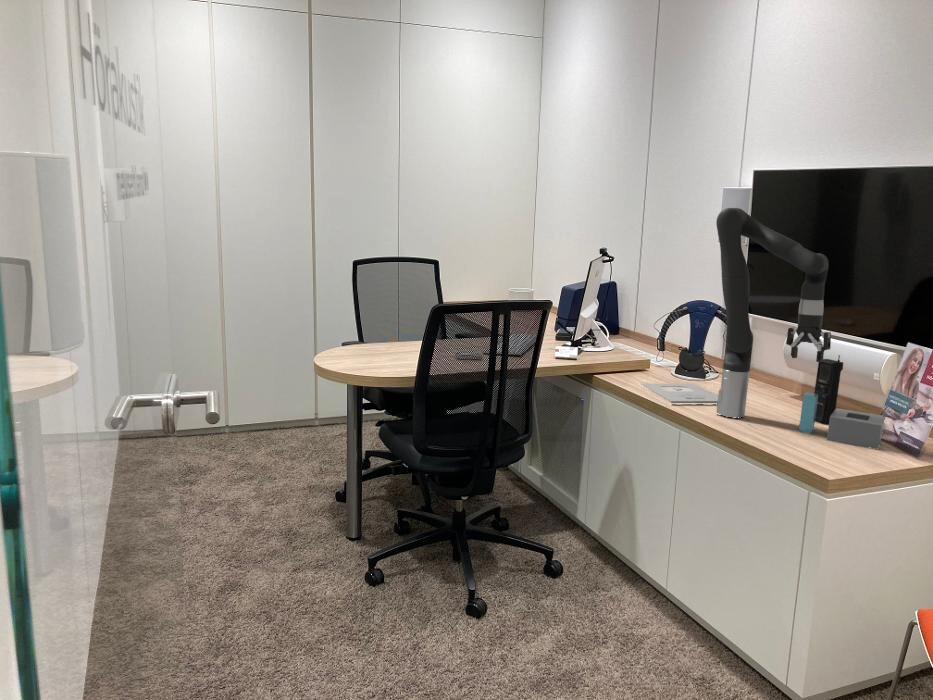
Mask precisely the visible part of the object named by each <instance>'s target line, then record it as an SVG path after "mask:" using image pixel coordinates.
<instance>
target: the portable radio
mask: <svg viewBox="0 0 933 700" xmlns="http://www.w3.org/2000/svg"><path fill="white" fill-rule="evenodd" d="M840 357H841V355H839V354H838V359H837V360H835V359H831V358H823V360H822V361H821V362H817V371H816V379H815V385H814V392H813V393H815V394H819V395H818V402H817V410H816V417H815V422H817V423H819V422H820V424H823V425H829V420H830V416H831V415H832V413H833V412H834V411H835V409H836V408H837V404H838V403H837V401H838V394H839V389H840V388H839V387H840V380H841V373H842V370H844V362H842V361H841V360H840Z"/></svg>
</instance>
